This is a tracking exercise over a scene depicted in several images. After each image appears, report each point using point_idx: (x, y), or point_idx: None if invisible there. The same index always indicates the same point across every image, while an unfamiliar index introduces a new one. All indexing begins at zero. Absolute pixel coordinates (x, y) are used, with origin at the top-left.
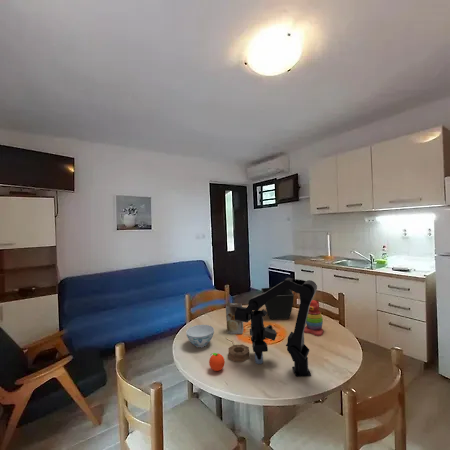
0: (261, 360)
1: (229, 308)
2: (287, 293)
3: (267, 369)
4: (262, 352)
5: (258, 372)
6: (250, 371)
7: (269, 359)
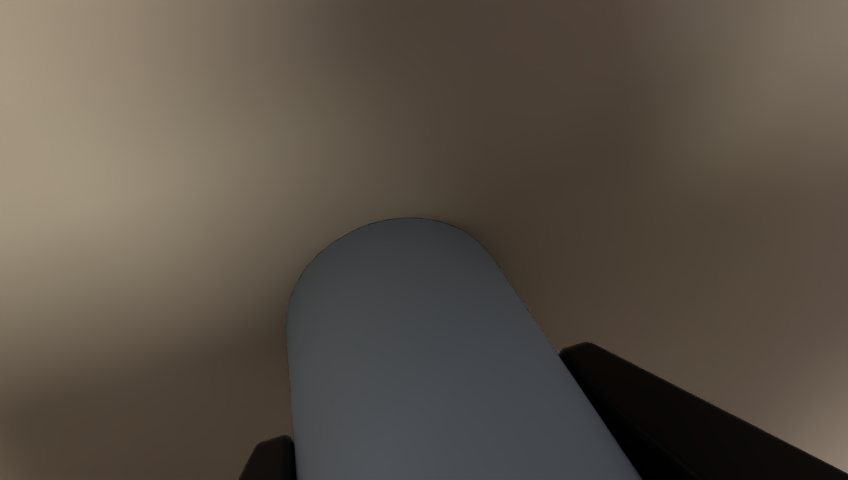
0: (512, 290)
1: None
2: None
3: (752, 47)
4: (512, 445)
5: (824, 246)
6: (761, 392)
7: (176, 21)
